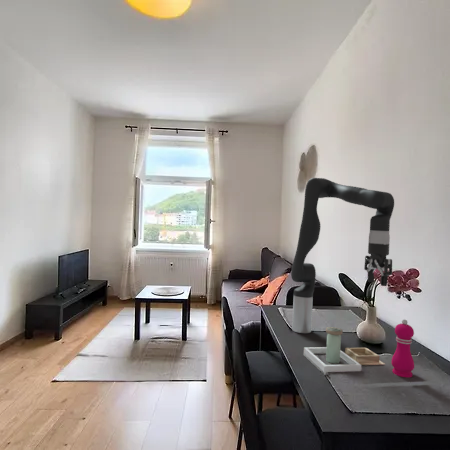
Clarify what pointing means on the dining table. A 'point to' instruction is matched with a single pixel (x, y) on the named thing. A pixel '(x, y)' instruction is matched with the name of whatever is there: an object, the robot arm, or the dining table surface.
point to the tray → (330, 368)
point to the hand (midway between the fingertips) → (376, 283)
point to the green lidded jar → (333, 344)
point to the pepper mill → (403, 350)
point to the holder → (363, 356)
